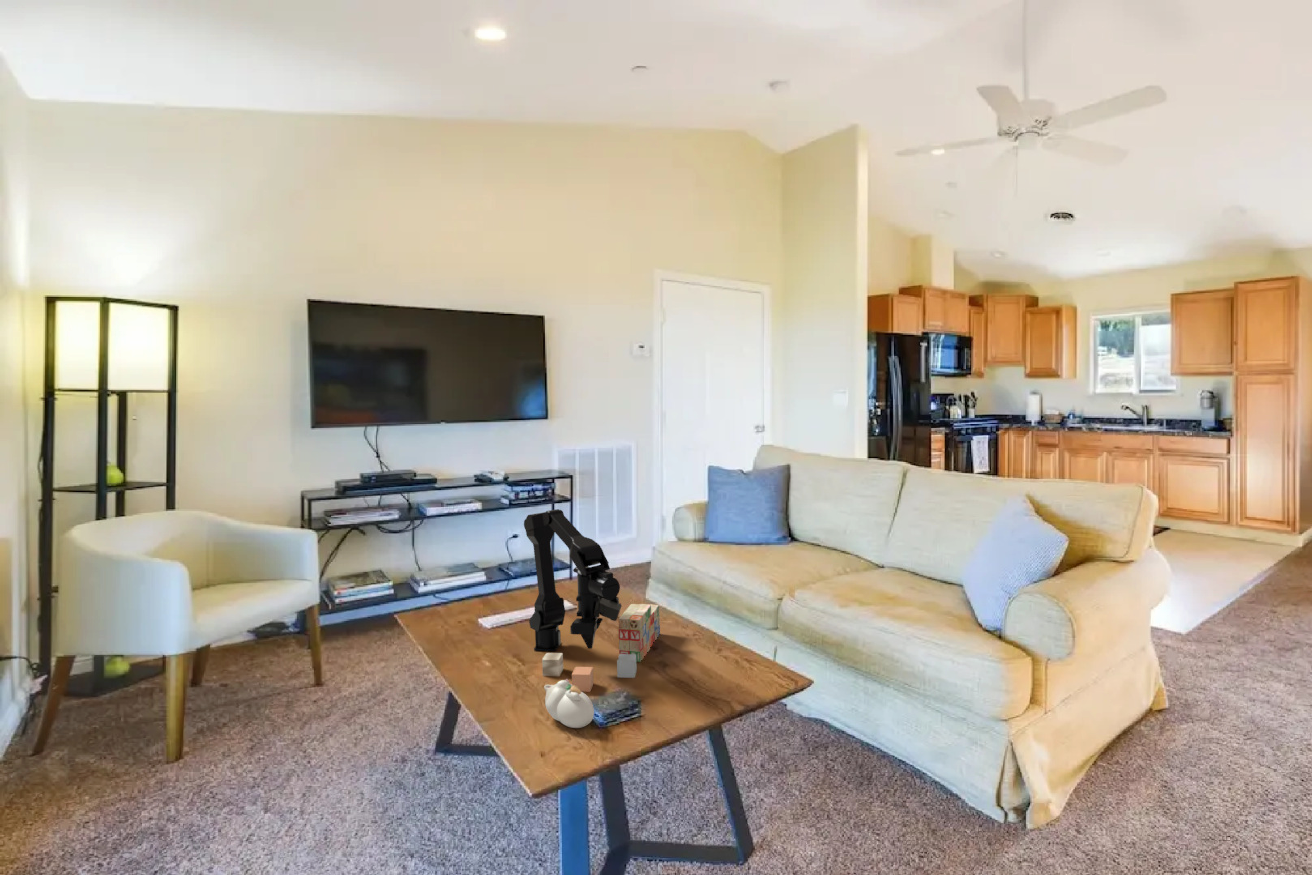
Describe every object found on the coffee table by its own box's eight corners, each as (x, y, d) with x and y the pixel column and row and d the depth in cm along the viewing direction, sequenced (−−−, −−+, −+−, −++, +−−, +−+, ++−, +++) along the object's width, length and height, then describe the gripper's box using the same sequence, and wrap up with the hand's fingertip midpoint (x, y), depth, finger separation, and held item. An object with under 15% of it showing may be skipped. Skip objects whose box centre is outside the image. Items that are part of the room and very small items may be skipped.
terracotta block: (572, 691, 166) (571, 674, 166) (576, 683, 171) (575, 666, 170) (590, 692, 166) (589, 674, 165) (593, 683, 170) (592, 667, 170)
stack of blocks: (640, 632, 205) (639, 593, 204) (660, 634, 203) (659, 595, 202) (619, 660, 184) (617, 617, 183) (640, 662, 183) (639, 619, 182)
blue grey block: (617, 677, 174) (616, 660, 173) (619, 670, 178) (619, 653, 178) (634, 677, 173) (634, 661, 173) (636, 670, 178) (636, 654, 177)
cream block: (542, 676, 176) (542, 659, 175) (546, 668, 180) (546, 652, 180) (559, 676, 175) (558, 659, 175) (563, 669, 180) (562, 653, 179)
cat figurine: (594, 689, 146) (551, 664, 156) (569, 719, 142) (526, 691, 151) (608, 715, 151) (565, 689, 161) (585, 744, 147) (542, 715, 156)
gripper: (612, 603, 166) (614, 663, 167) (623, 580, 184) (625, 635, 186) (569, 602, 167) (570, 662, 168) (584, 580, 186) (586, 634, 187)
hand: (590, 648), depth 177 cm, fingers closed
